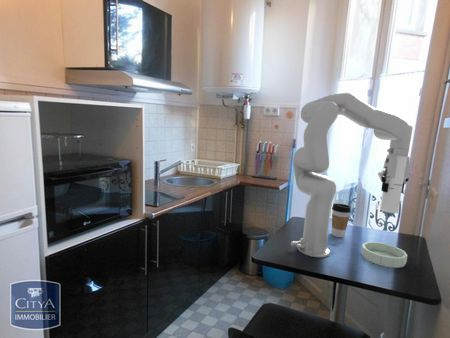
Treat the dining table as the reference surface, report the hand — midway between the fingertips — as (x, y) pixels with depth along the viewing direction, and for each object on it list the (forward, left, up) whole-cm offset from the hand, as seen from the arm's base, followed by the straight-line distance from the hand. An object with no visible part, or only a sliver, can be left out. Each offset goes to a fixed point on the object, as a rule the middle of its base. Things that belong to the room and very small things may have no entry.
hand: (392, 191), depth 134 cm
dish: (-13, -15, -24) cm, 31 cm away
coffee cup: (-17, +11, -24) cm, 32 cm away
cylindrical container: (0, 0, -9) cm, 9 cm away
